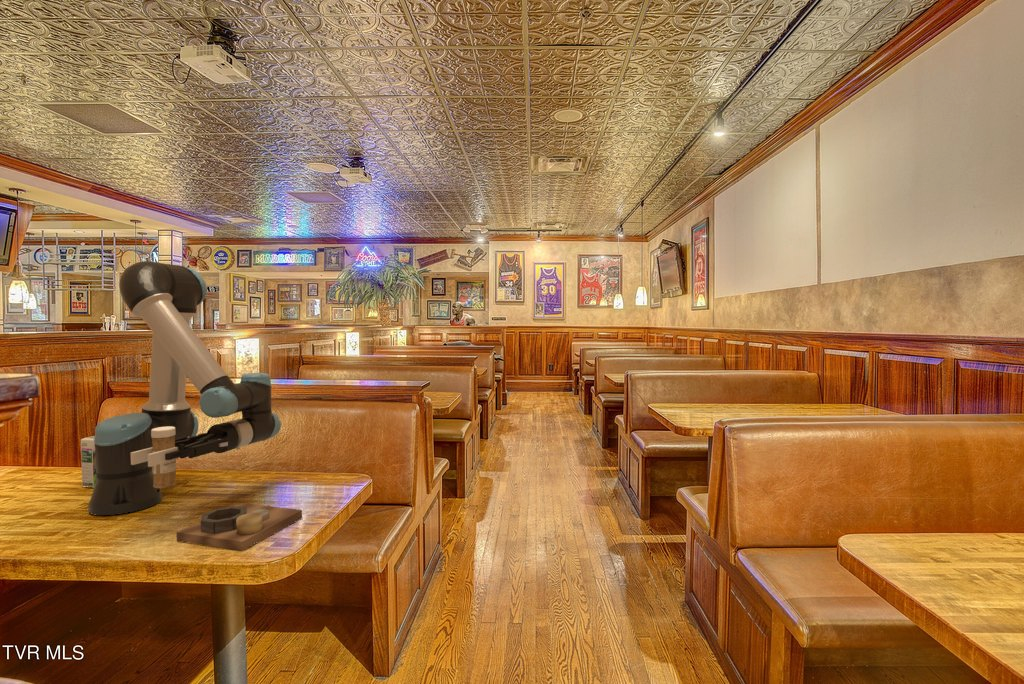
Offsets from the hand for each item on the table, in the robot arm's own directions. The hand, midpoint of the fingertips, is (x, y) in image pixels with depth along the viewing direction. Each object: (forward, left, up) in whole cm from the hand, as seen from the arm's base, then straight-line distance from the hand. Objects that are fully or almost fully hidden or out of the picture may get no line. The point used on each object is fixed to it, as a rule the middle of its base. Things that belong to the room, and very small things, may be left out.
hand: (140, 459), depth 108 cm
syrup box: (-50, +24, -18) cm, 59 cm away
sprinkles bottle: (0, +5, -8) cm, 9 cm away
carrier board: (+17, +10, -18) cm, 27 cm away
